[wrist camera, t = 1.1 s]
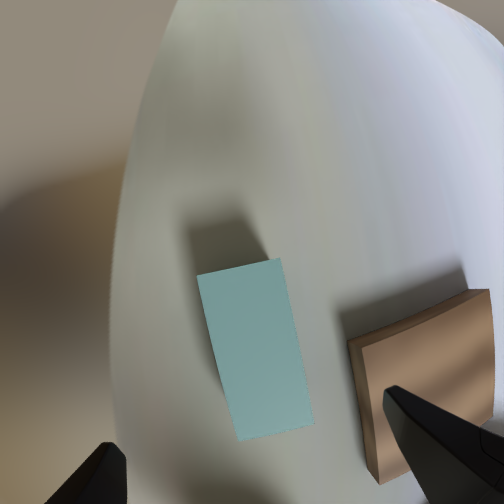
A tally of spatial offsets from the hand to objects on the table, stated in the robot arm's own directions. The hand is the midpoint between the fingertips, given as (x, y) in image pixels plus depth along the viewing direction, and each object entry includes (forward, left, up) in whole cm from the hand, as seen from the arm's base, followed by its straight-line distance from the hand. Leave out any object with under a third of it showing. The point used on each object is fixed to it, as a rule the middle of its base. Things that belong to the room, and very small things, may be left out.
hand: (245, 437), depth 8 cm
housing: (0, -1, -14) cm, 14 cm away
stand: (-9, -15, -14) cm, 22 cm away
